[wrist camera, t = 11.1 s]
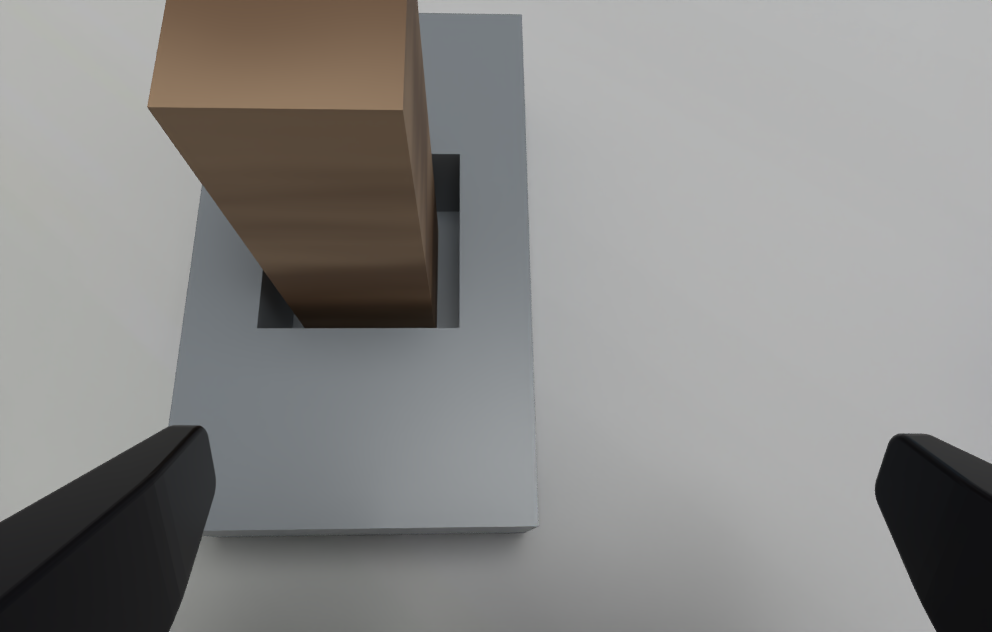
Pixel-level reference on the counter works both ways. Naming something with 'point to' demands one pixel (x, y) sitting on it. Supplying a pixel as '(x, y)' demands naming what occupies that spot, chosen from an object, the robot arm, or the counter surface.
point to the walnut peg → (311, 147)
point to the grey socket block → (384, 345)
